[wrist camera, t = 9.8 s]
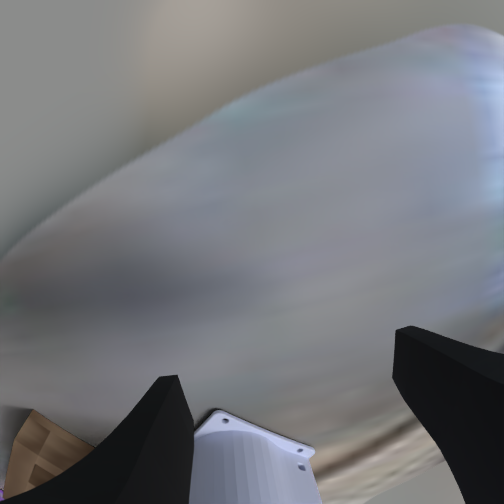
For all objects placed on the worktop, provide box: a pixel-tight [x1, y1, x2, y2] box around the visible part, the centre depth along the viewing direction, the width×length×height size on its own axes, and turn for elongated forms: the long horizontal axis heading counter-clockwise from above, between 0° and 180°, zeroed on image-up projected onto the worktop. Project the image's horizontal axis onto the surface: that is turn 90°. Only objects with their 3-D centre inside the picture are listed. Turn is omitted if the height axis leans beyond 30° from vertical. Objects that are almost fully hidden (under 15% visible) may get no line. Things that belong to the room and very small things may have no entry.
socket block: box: [2, 409, 95, 499], centre depth 20 cm, size 9×16×4 cm, turn 144°
